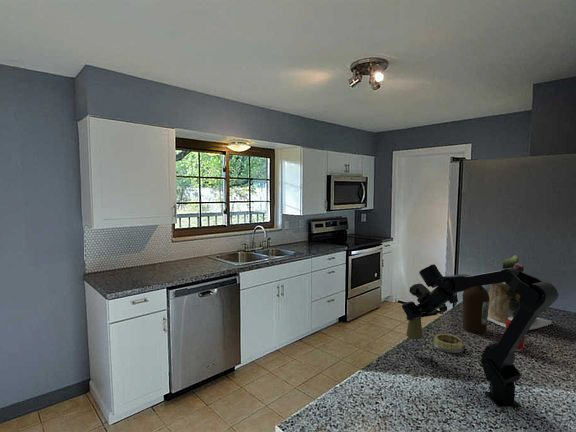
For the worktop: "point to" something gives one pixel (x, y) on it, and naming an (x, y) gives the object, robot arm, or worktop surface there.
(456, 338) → the collar socket
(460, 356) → the worktop surface
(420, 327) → the cork
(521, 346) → the beverage can
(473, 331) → the olive oil
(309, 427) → the worktop surface
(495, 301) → the cookie jar
